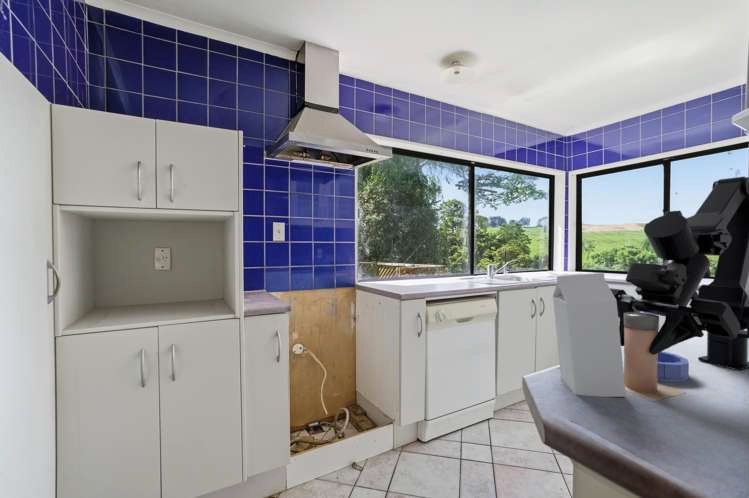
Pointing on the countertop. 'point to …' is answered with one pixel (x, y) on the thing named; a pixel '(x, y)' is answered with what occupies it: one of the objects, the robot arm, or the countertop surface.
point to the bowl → (672, 367)
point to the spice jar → (640, 352)
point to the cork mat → (657, 393)
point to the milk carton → (588, 336)
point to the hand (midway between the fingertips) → (635, 348)
